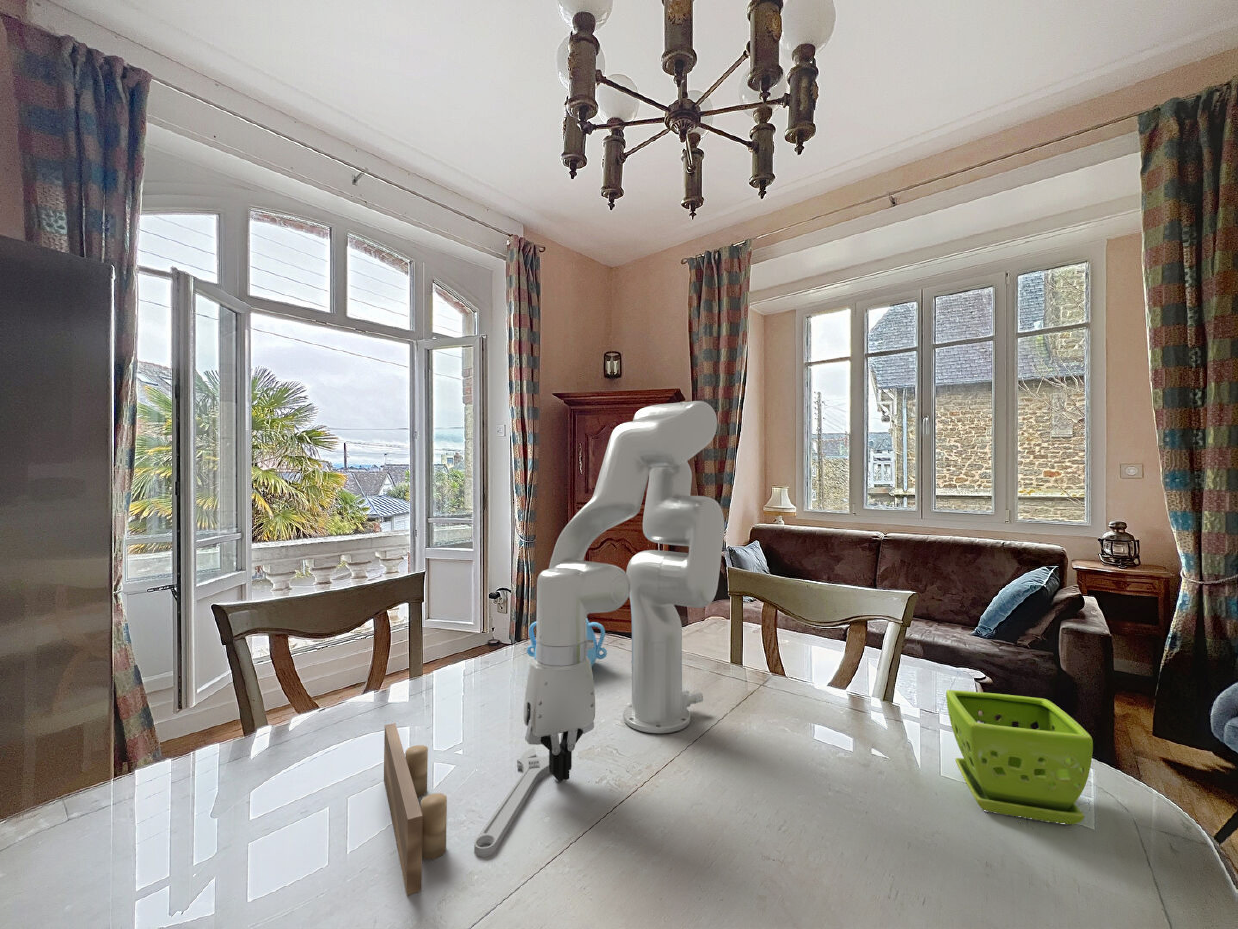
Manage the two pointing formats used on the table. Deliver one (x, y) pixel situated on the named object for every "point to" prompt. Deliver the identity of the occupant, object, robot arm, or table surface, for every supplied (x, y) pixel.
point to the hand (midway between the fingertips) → (560, 776)
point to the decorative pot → (590, 635)
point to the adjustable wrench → (512, 802)
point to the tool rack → (412, 808)
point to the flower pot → (1021, 755)
